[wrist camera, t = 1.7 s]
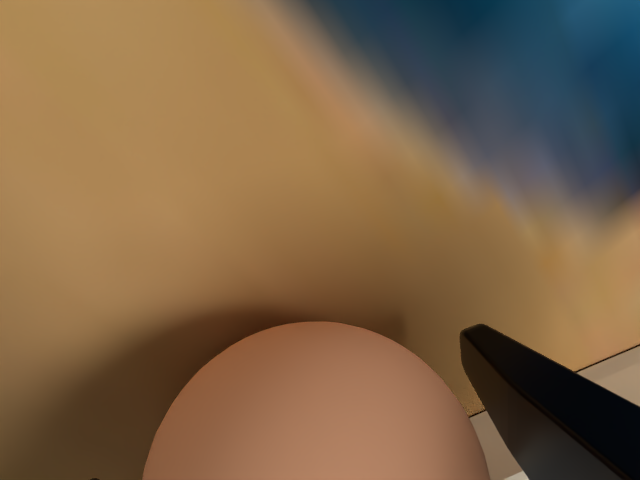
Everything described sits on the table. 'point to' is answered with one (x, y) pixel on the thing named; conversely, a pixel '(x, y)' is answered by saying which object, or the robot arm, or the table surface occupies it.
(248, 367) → the ball
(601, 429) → the robot arm
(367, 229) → the table surface
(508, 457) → the lane
